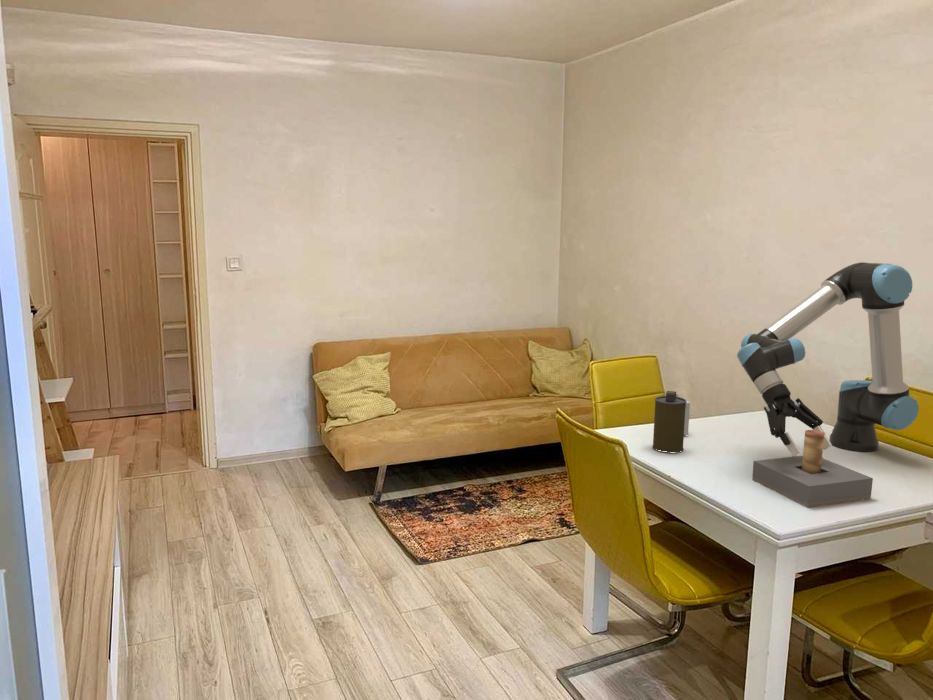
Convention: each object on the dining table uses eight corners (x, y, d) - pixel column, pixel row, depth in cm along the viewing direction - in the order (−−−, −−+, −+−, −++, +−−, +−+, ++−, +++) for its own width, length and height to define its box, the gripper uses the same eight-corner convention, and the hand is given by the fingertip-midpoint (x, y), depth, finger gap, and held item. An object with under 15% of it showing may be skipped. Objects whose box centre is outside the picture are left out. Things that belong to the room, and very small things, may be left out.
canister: (681, 455, 236) (685, 396, 233) (650, 451, 240) (653, 393, 237) (685, 446, 246) (688, 389, 243) (654, 442, 250) (657, 387, 247)
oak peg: (810, 481, 209) (815, 429, 206) (823, 487, 204) (828, 434, 202) (796, 483, 208) (801, 430, 205) (809, 489, 203) (814, 435, 200)
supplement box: (688, 436, 257) (690, 402, 255) (668, 436, 257) (669, 402, 255) (682, 430, 265) (684, 397, 262) (662, 430, 265) (664, 397, 263)
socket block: (811, 472, 220) (813, 454, 219) (870, 498, 199) (872, 478, 198) (752, 479, 213) (753, 460, 212) (807, 507, 193) (809, 486, 192)
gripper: (791, 391, 223) (831, 450, 213) (735, 400, 211) (774, 463, 201) (808, 378, 217) (849, 438, 207) (751, 386, 206) (792, 450, 196)
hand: (812, 450), depth 204 cm, fingers open, 13 cm apart
